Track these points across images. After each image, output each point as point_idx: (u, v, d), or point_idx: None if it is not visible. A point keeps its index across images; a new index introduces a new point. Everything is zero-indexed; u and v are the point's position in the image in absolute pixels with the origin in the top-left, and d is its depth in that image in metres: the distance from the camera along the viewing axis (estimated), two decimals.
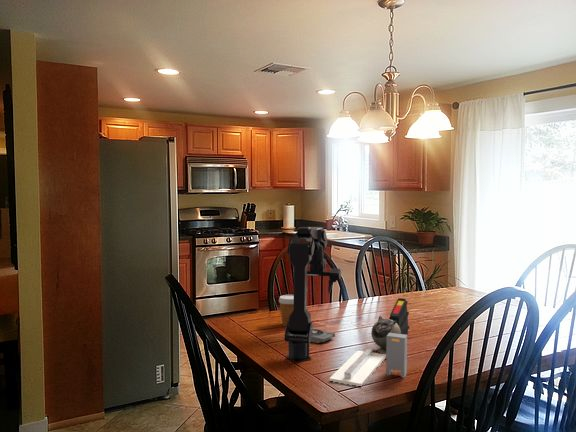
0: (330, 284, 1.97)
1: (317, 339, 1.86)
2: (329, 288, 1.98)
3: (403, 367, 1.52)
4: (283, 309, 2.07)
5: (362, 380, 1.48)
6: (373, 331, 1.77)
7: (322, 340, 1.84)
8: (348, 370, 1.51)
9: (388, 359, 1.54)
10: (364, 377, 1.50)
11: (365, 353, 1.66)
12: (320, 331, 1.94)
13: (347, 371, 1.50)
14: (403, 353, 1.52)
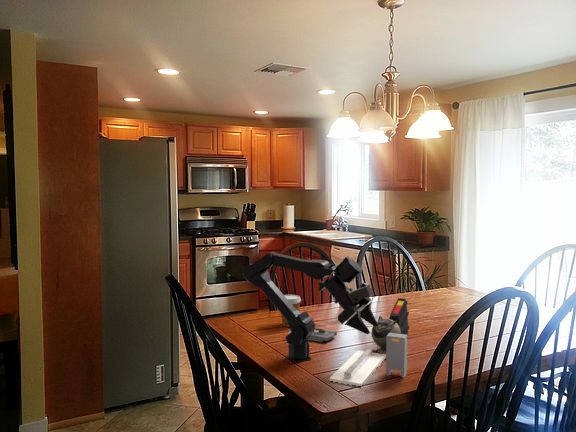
0: None
1: (321, 338, 1.87)
2: None
3: (403, 367, 1.52)
4: None
5: (362, 380, 1.48)
6: (373, 331, 1.77)
7: (326, 339, 1.86)
8: (348, 370, 1.51)
9: (388, 359, 1.54)
10: (364, 377, 1.50)
11: (365, 353, 1.66)
12: (321, 330, 1.95)
13: (347, 371, 1.50)
14: (403, 353, 1.52)
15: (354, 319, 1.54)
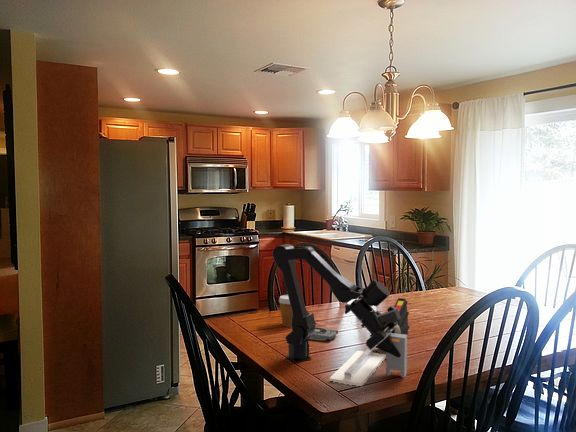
0: None
1: (324, 337, 1.88)
2: None
3: (403, 367, 1.52)
4: (283, 309, 2.07)
5: (362, 380, 1.48)
6: None
7: (329, 338, 1.87)
8: (348, 370, 1.51)
9: (388, 359, 1.54)
10: (364, 377, 1.50)
11: (365, 353, 1.66)
12: (321, 329, 1.97)
13: (347, 371, 1.50)
14: (403, 353, 1.52)
15: (385, 342, 1.53)
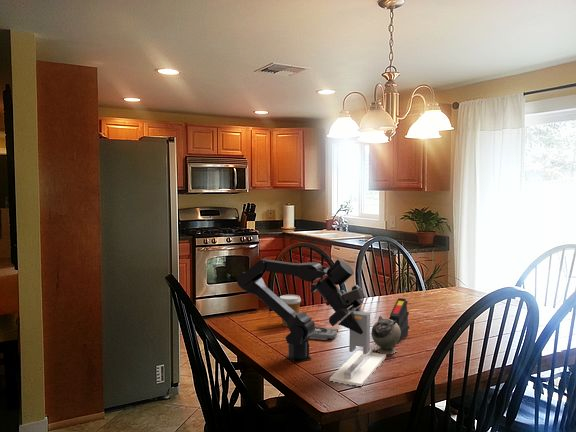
0: None
1: (326, 336, 1.89)
2: None
3: (365, 343, 1.57)
4: None
5: (362, 380, 1.48)
6: (373, 331, 1.77)
7: (332, 337, 1.88)
8: (348, 370, 1.51)
9: (351, 336, 1.59)
10: (364, 377, 1.50)
11: None
12: (321, 328, 1.98)
13: (347, 371, 1.50)
14: (365, 330, 1.57)
15: (348, 319, 1.57)
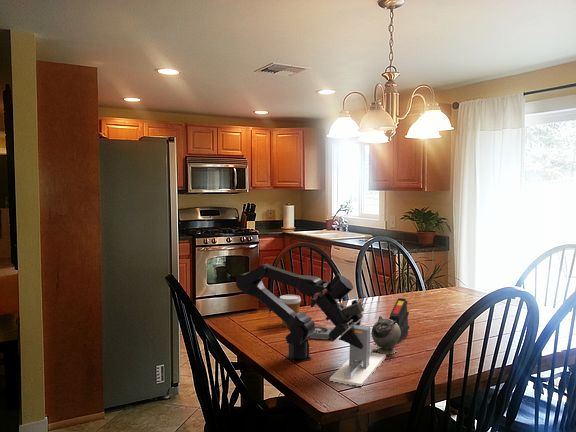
0: None
1: (328, 336, 1.90)
2: None
3: (365, 358, 1.57)
4: None
5: (362, 380, 1.48)
6: (373, 331, 1.77)
7: None
8: (348, 370, 1.51)
9: (351, 350, 1.59)
10: (364, 377, 1.50)
11: None
12: (321, 328, 1.98)
13: (347, 371, 1.50)
14: (365, 344, 1.57)
15: (348, 334, 1.58)
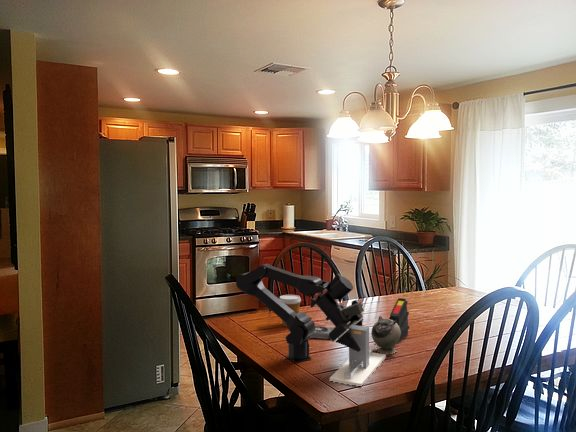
0: None
1: None
2: None
3: (365, 358, 1.57)
4: None
5: (362, 380, 1.48)
6: (373, 331, 1.77)
7: None
8: (348, 370, 1.51)
9: (350, 350, 1.59)
10: (364, 377, 1.50)
11: None
12: (321, 327, 1.99)
13: (347, 371, 1.50)
14: (364, 345, 1.56)
15: (345, 336, 1.55)
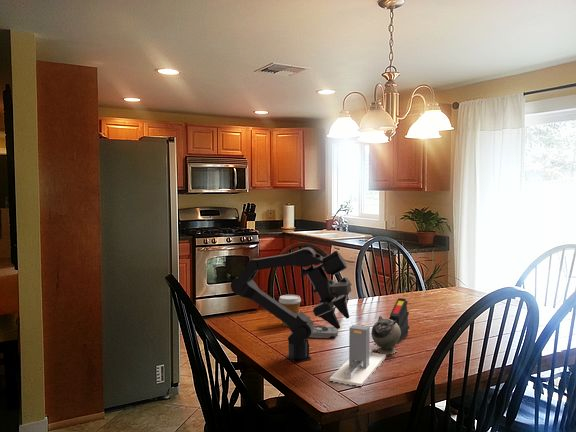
0: None
1: (330, 334, 1.91)
2: None
3: (365, 358, 1.57)
4: None
5: (362, 380, 1.48)
6: (373, 331, 1.77)
7: (335, 334, 1.91)
8: (348, 370, 1.51)
9: (350, 350, 1.59)
10: (364, 377, 1.50)
11: None
12: (320, 327, 2.00)
13: (347, 371, 1.50)
14: (365, 344, 1.57)
15: (328, 313, 1.61)
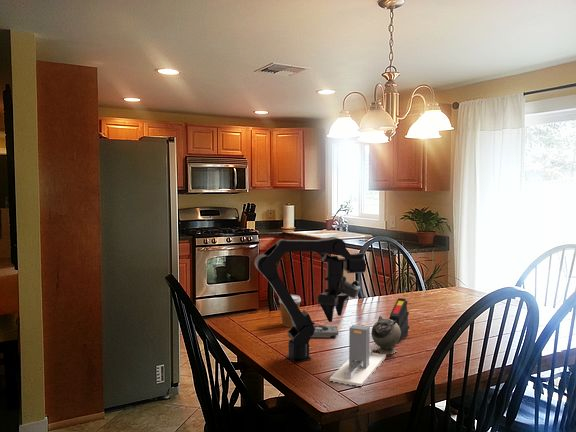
0: None
1: (331, 334, 1.92)
2: None
3: (365, 358, 1.57)
4: (283, 309, 2.07)
5: (362, 380, 1.48)
6: (373, 331, 1.77)
7: (336, 334, 1.92)
8: (348, 370, 1.51)
9: (350, 350, 1.59)
10: (364, 377, 1.50)
11: None
12: (320, 327, 2.00)
13: (347, 371, 1.50)
14: (365, 344, 1.57)
15: (328, 305, 1.66)
